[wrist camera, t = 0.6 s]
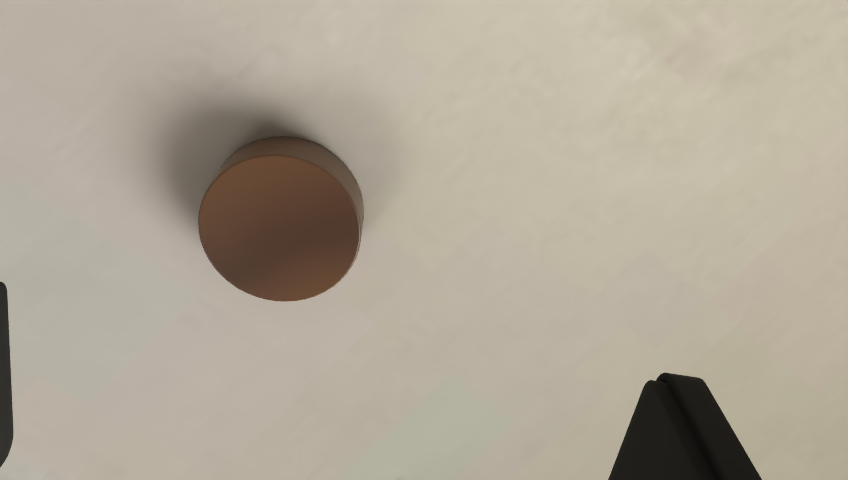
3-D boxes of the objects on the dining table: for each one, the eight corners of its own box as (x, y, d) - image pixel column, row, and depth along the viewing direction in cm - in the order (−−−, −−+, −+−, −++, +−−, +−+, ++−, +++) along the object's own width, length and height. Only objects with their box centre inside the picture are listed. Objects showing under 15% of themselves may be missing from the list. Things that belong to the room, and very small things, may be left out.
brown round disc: (182, 170, 25) (167, 191, 23) (323, 112, 24) (317, 129, 22) (255, 295, 27) (245, 323, 25) (387, 245, 26) (386, 269, 24)
